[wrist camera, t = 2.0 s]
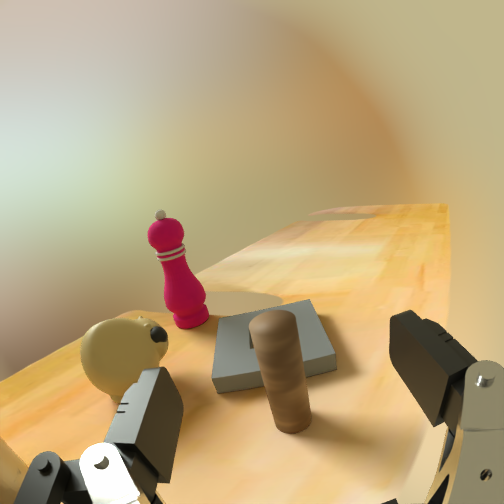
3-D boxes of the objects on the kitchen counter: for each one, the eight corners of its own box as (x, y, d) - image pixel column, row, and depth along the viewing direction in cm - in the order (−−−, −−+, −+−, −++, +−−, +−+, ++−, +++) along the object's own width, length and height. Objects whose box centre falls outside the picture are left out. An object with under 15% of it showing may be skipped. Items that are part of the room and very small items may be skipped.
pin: (277, 436, 23) (249, 340, 20) (273, 410, 27) (248, 315, 23) (314, 428, 23) (299, 329, 20) (307, 403, 27) (291, 306, 23)
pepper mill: (166, 324, 50) (130, 218, 44) (194, 306, 55) (165, 205, 49) (189, 334, 45) (151, 214, 40) (220, 313, 50) (189, 201, 45)
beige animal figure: (195, 377, 34) (166, 306, 31) (120, 426, 27) (75, 356, 24) (159, 352, 41) (133, 291, 38) (95, 390, 34) (61, 328, 30)
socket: (217, 393, 31) (211, 378, 30) (223, 331, 44) (219, 318, 44) (336, 369, 30) (335, 353, 30) (311, 313, 44) (309, 299, 43)
